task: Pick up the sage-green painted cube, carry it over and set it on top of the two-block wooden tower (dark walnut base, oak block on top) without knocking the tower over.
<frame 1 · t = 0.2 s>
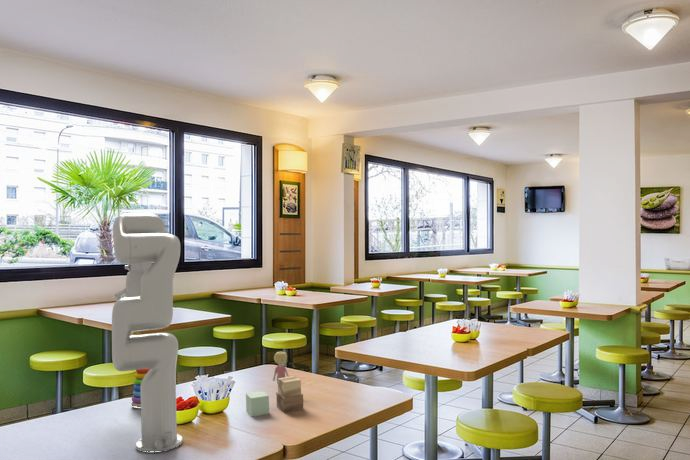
hand: (141, 316, 198), 31 cm above the table, fingers open, 9 cm apart
green cube: (257, 412, 184), on the table
stacking toy: (143, 406, 194), on the table
tower top: (289, 393, 188), point 5 cm above the table
tower base: (290, 408, 188), on the table
toy: (281, 392, 208), on the table
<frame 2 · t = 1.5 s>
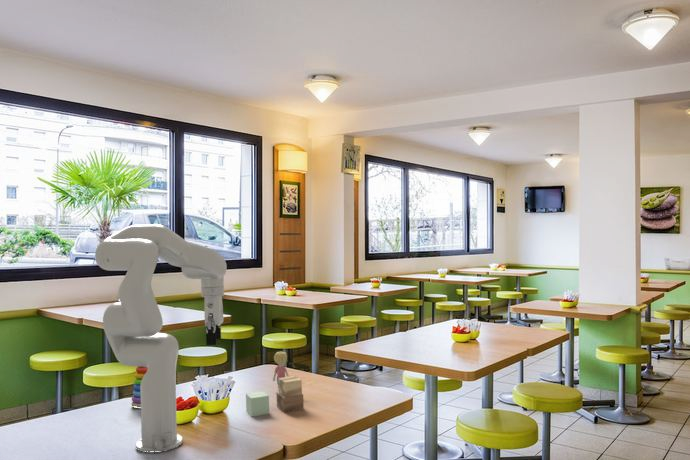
hand: (213, 341, 189), 23 cm above the table, fingers open, 9 cm apart
tower top: (290, 393, 188), point 5 cm above the table, touching tower base
tower base: (290, 408, 188), on the table, touching tower top
everything else where it was.
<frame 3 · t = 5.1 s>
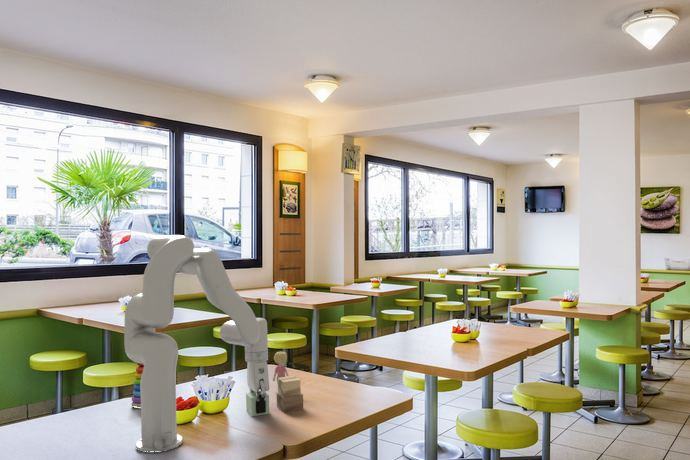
hand: (257, 409, 184), 1 cm above the table, fingers closed on green cube, 6 cm apart
green cube: (257, 412, 184), on the table, touching gripper
everything else where it was.
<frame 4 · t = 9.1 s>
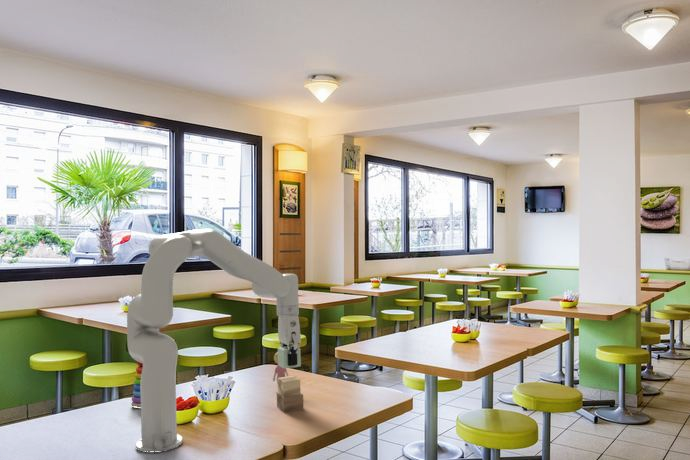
hand: (289, 362, 188), 15 cm above the table, fingers closed on green cube, 6 cm apart
green cube: (289, 365, 188), point 14 cm above the table, touching gripper
everything else where it was.
when the fingers open (12 cm above the table, at t = 10.8 s): green cube stays where it is, resting on tower top.
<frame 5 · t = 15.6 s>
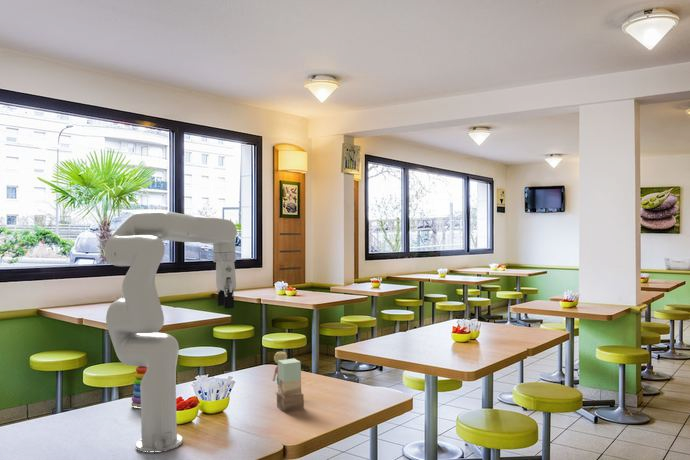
hand: (225, 306, 192), 34 cm above the table, fingers open, 9 cm apart
green cube: (289, 378, 188), point 10 cm above the table, touching tower top
tower top: (290, 393, 189), point 5 cm above the table, touching green cube, tower base
everything else where it was.
at the end: green cube 0.1 cm off-centre on the tower top, point 5.0 cm above the tower top's base; tower top tilted 0°; the gripper is holding nothing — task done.
